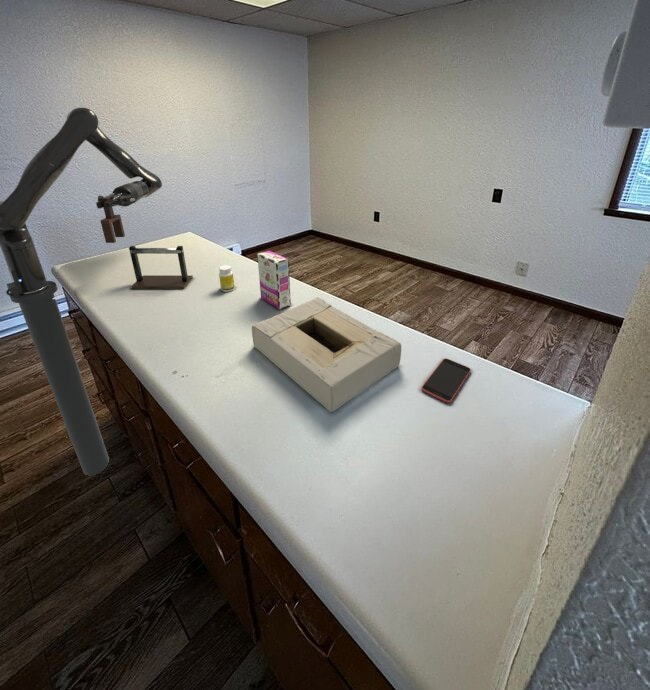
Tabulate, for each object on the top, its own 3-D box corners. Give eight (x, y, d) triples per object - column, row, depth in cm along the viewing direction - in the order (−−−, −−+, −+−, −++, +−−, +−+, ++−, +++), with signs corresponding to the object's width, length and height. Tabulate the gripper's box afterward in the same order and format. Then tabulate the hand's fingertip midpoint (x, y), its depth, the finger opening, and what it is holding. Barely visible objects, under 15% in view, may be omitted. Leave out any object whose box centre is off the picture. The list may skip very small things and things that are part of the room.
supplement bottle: (236, 289, 128) (234, 268, 125) (223, 293, 126) (221, 271, 122) (231, 284, 132) (229, 263, 129) (219, 288, 129) (216, 266, 126)
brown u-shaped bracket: (114, 242, 126) (103, 200, 120) (105, 242, 126) (94, 200, 120) (125, 236, 133) (115, 195, 127) (117, 236, 133) (107, 195, 127)
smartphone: (472, 368, 87) (450, 402, 77) (471, 370, 88) (450, 404, 78) (444, 357, 91) (420, 388, 81) (444, 358, 92) (419, 390, 82)
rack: (184, 289, 129) (177, 251, 123) (131, 289, 129) (122, 251, 124) (193, 278, 137) (187, 242, 131) (143, 278, 137) (135, 242, 132)
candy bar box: (291, 305, 118) (289, 258, 111) (279, 310, 115) (276, 263, 108) (272, 293, 125) (269, 249, 119) (260, 298, 122) (256, 253, 116)
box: (401, 366, 90) (317, 315, 112) (403, 340, 87) (316, 293, 108) (333, 417, 75) (252, 347, 97) (333, 388, 72) (249, 323, 94)
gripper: (108, 184, 136) (78, 194, 120) (144, 184, 136) (119, 194, 120) (112, 203, 139) (84, 216, 123) (148, 203, 139) (124, 216, 123)
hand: (102, 205), depth 121 cm, fingers closed on brown u-shaped bracket, 2 cm apart
